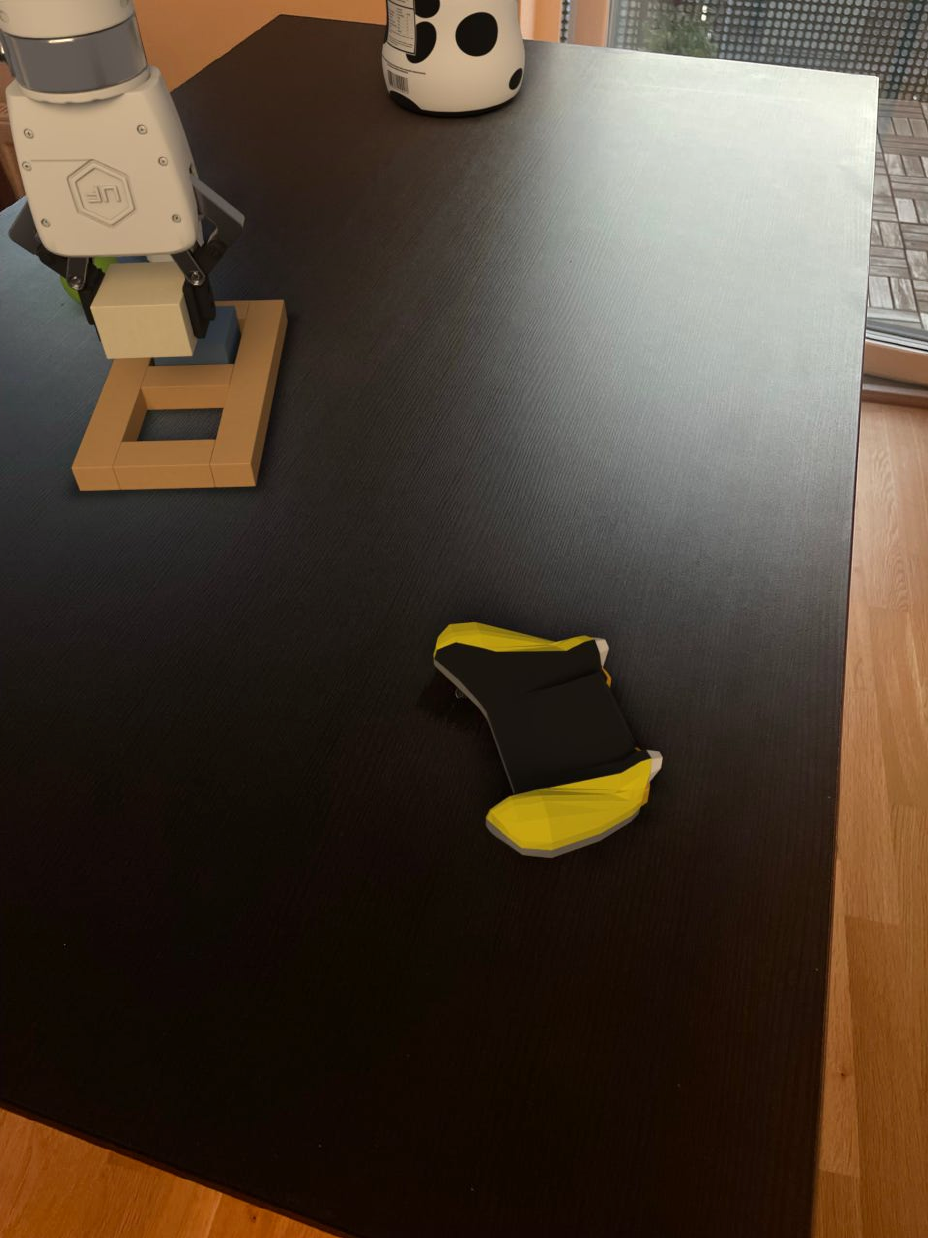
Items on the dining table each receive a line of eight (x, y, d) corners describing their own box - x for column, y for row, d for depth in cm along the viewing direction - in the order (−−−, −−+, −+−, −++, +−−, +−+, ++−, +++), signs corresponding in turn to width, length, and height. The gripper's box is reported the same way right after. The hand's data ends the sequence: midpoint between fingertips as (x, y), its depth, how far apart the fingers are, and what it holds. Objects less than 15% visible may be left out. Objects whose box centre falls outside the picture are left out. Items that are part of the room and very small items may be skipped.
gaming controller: (496, 895, 51) (677, 848, 53) (497, 840, 47) (693, 791, 49) (428, 677, 61) (582, 644, 63) (424, 617, 57) (589, 582, 59)
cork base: (81, 494, 74) (70, 467, 72) (143, 328, 89) (136, 302, 87) (256, 490, 74) (250, 463, 72) (288, 324, 89) (284, 298, 87)
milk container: (535, 80, 128) (540, -87, 115) (508, 134, 117) (511, -45, 104) (406, 72, 131) (396, -92, 118) (367, 123, 120) (352, -52, 107)
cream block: (107, 359, 69) (89, 307, 66) (125, 314, 73) (109, 263, 70) (192, 356, 69) (179, 304, 66) (206, 311, 73) (194, 260, 70)
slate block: (161, 388, 83) (149, 346, 80) (174, 348, 87) (163, 307, 84) (233, 386, 83) (224, 343, 80) (243, 347, 87) (234, 305, 84)
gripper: (-94, 82, 55) (21, 363, 69) (216, 71, 55) (271, 355, 68) (-49, 37, 60) (50, 306, 74) (235, 26, 60) (282, 298, 74)
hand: (156, 327), depth 71 cm, fingers closed on cream block, 6 cm apart
